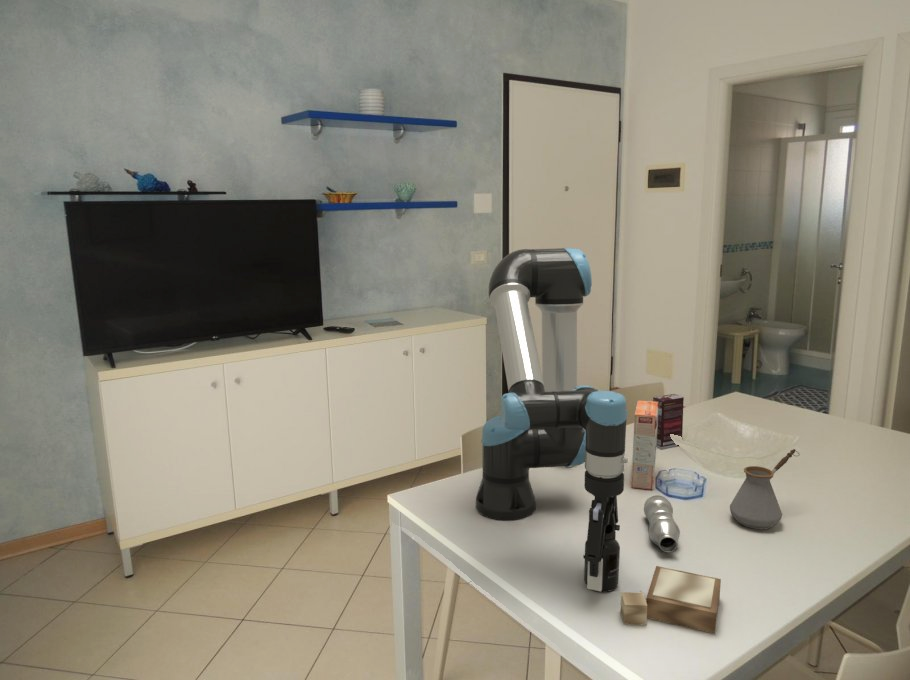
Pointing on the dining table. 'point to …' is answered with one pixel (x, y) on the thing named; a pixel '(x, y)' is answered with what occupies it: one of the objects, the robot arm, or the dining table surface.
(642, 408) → the cracker box
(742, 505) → the coffee pot
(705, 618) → the base
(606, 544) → the supplement bottle
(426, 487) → the dining table surface
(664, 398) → the supplement box
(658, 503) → the plastic bottle
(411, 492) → the dining table surface
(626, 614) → the beech cube
